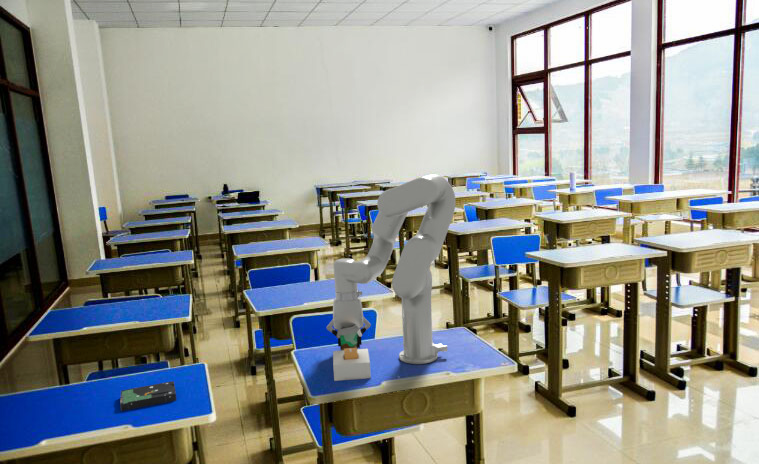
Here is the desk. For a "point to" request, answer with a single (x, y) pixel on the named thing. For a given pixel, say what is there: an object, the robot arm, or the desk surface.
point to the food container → (349, 337)
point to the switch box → (351, 366)
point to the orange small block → (350, 353)
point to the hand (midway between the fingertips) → (349, 347)
